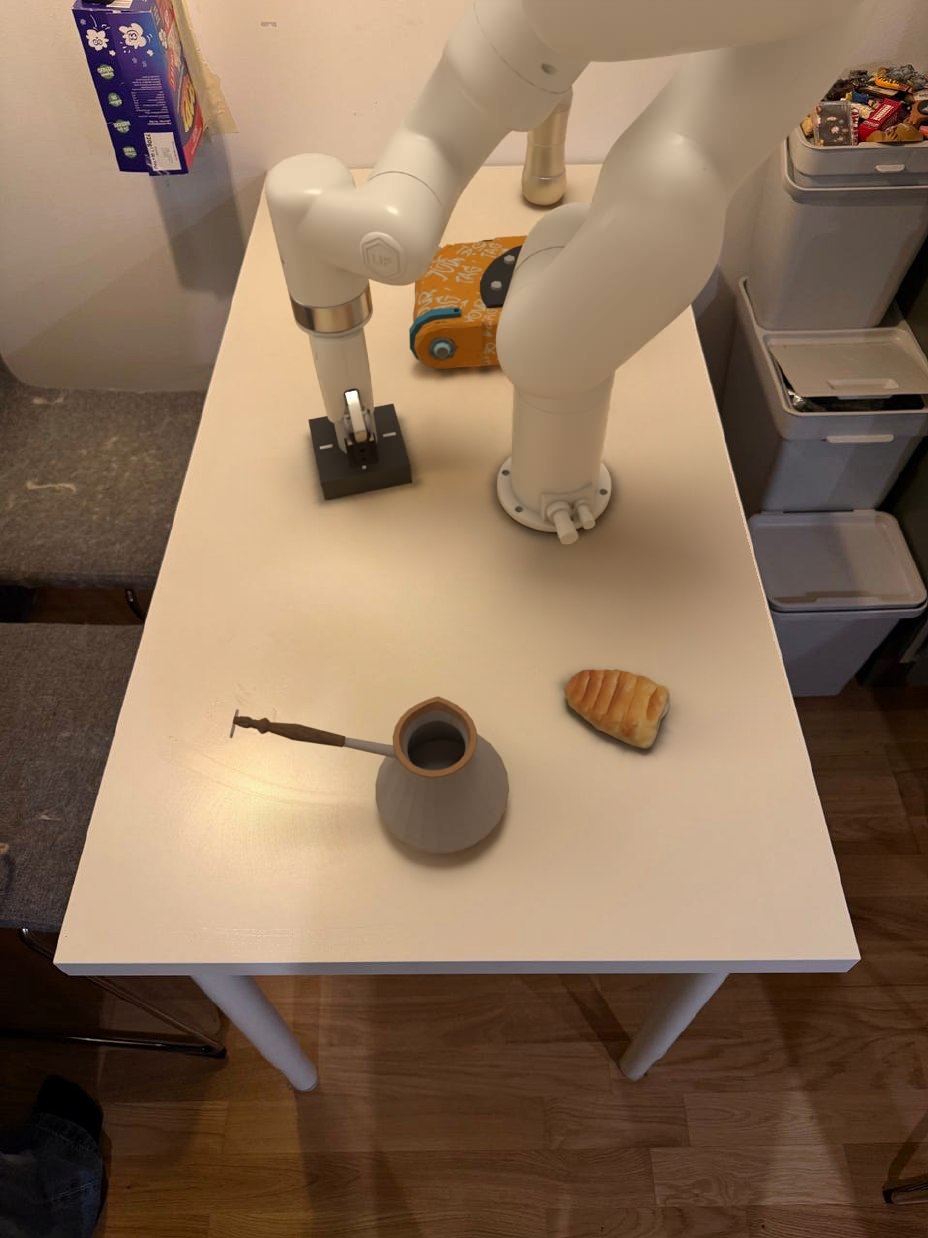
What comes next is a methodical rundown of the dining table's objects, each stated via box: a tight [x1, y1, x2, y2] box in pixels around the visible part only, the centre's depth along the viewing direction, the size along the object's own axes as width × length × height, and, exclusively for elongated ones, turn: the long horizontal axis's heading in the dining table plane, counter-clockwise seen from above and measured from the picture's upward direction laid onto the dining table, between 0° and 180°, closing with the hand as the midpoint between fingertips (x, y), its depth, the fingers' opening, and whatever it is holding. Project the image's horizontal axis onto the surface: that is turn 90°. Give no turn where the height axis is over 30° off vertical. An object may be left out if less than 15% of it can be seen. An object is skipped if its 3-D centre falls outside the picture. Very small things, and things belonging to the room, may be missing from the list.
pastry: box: [564, 668, 671, 749], centre depth 77 cm, size 9×7×4 cm
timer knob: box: [334, 403, 378, 453], centre depth 92 cm, size 4×4×5 cm
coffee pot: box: [229, 696, 510, 854], centre depth 68 cm, size 21×12×15 cm, turn 87°
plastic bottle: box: [520, 85, 574, 206], centre depth 116 cm, size 6×7×20 cm
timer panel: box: [307, 403, 413, 501], centre depth 95 cm, size 10×10×3 cm
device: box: [409, 234, 528, 369], centre depth 106 cm, size 23×8×30 cm
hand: (356, 432), depth 93 cm, fingers open, 9 cm apart
